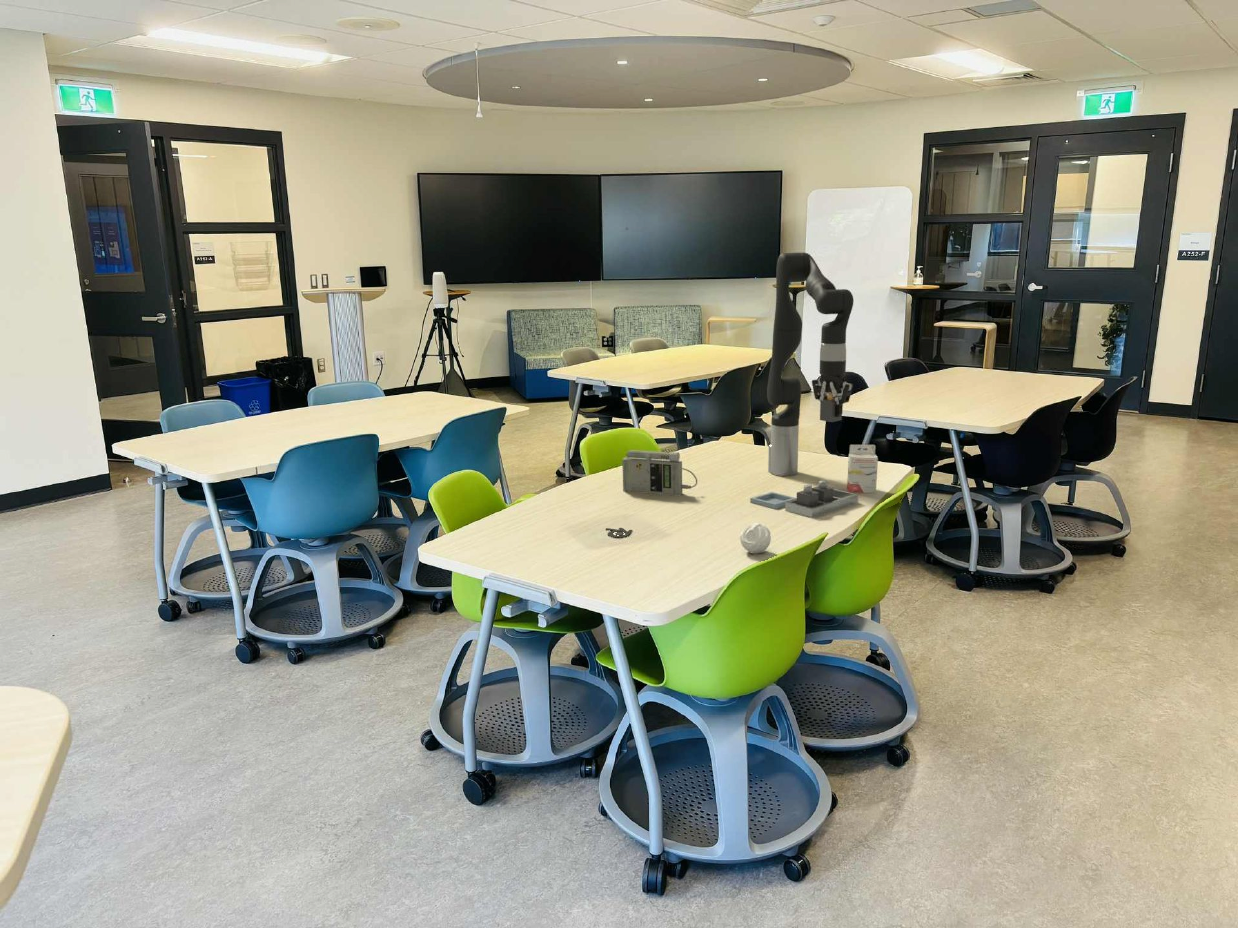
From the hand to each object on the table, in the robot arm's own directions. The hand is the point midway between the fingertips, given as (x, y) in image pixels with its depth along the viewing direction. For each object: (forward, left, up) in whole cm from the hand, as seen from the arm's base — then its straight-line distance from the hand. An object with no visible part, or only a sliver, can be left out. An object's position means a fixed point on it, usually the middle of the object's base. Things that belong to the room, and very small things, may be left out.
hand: (831, 415), depth 270 cm
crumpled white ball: (+14, -49, -28) cm, 58 cm away
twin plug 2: (+1, -5, -27) cm, 28 cm away
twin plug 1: (+1, -12, -27) cm, 30 cm away
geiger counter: (-46, -28, -28) cm, 60 cm away
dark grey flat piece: (-25, -64, -28) cm, 74 cm away
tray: (-12, -12, -27) cm, 32 cm away
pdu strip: (+1, -5, -28) cm, 28 cm away
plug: (0, 0, -1) cm, 1 cm away
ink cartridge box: (-2, +19, -28) cm, 34 cm away
